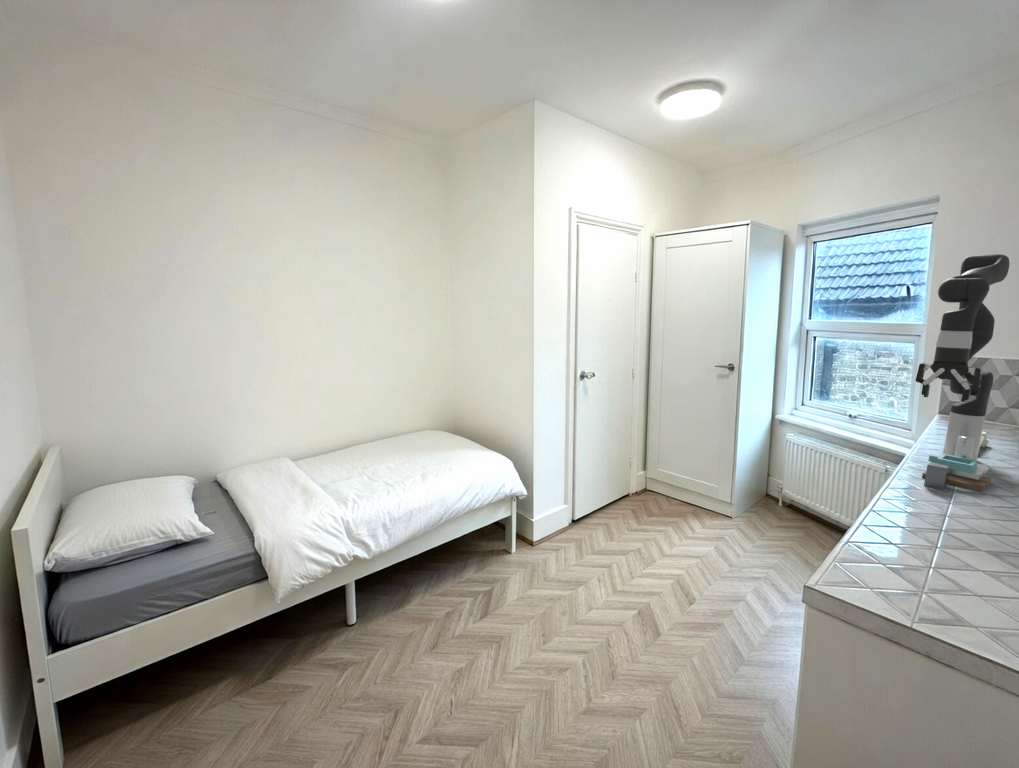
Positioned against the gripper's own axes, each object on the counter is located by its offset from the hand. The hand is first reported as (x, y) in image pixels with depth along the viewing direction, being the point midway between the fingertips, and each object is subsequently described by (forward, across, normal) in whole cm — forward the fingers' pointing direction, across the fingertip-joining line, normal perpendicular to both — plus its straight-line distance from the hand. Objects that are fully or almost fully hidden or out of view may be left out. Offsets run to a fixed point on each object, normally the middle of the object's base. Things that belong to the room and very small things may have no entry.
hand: (944, 399), depth 141 cm
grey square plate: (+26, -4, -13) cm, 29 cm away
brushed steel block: (+28, -2, +1) cm, 28 cm away
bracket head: (+22, -3, -10) cm, 25 cm away
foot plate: (+27, -4, -13) cm, 31 cm away
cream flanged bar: (+28, 0, -67) cm, 73 cm away
